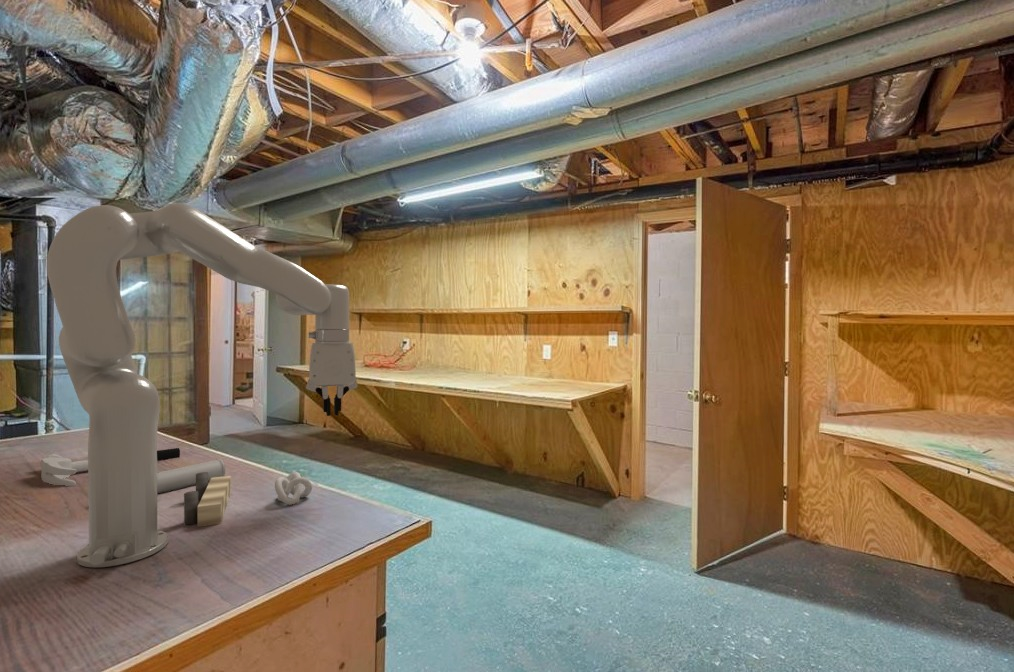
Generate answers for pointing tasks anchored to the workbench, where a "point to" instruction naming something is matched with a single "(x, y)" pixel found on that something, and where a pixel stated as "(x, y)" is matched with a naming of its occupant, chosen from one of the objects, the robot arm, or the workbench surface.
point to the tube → (188, 475)
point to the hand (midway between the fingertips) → (332, 414)
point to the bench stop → (207, 500)
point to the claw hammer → (80, 466)
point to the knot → (292, 488)
